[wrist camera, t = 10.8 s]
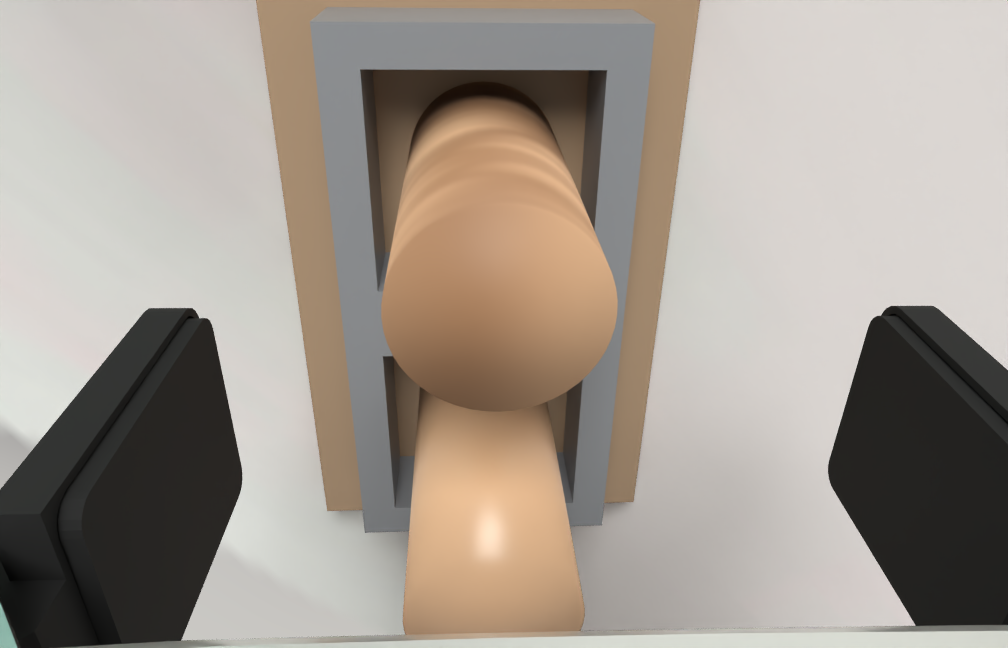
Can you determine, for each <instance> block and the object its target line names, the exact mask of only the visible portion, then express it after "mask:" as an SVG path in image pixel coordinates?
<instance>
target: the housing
mask: <svg viewBox="0 0 1008 648" xmlns="http://www.w3.org/2000/svg"><path fill="white" fill-rule="evenodd" d="M256 3H257V10H258V17H259V25H260V32H261V39H262V46H263V53H264V60H265V68H266V75H267V82H268V89H269V96H270V103H271V111H272V118H273V125H274V132H275V139H276V146H277V154H278V161H279V168H280V175H281V182H282V189H283V197H284V204H285V211H286V218H287V225H288V232H289V240H290V247H291V254H292V261H293V268H294V275H295V283H296V290H297V297H298V304H299V311H300V318H301V326H302V333H303V340H304V347H305V354H306V361H307V369H308V376H309V383H310V390H311V397H312V404H313V412H314V419H315V426H316V433H317V440H318V447H319V455H320V462H321V469H322V476H323V483H324V490H325V498H326V505H327V511H342V510H363V518H364V528H365V533H368V532H400V531H409V541H408V554H407V568H406V581H405V594H404V608H403V626H404V631H405V634H406V635H418V634H460V633H503V632H555V631H580V630H581V627H582V625H583V621H584V616H585V608H584V602H583V596H582V591H581V585H580V580H579V574H578V569H577V563H576V558H575V552H574V547H573V541H572V536H571V530H570V526H594V525H602V518H603V509H604V503H615V502H633V501H634V493H635V486H636V478H637V471H638V463H639V456H640V448H641V441H642V433H643V426H644V418H645V411H646V403H647V396H648V388H649V380H650V373H651V365H652V358H653V350H654V343H655V335H656V328H657V320H658V313H659V305H660V298H661V290H662V283H663V275H664V268H665V260H666V253H667V245H668V237H669V230H670V222H671V215H672V207H673V200H674V192H675V185H676V177H677V170H678V162H679V155H680V147H681V140H682V132H683V125H684V117H685V110H686V102H687V94H688V87H689V79H690V72H691V64H692V57H693V49H694V42H695V34H696V27H697V19H698V12H699V4H700V0H256ZM481 81H486V82H496V83H500V84H504V85H507V86H510V87H513V88H515V89H517V90H519V91H521V92H522V93H524V94H525V95H527V96H528V97H529V98H531V99H532V100H533V101H534V102H535V103H536V104H537V105H538V106H539V108H540V109H541V110H542V111H543V113H544V114H545V116H546V118H547V119H548V121H549V123H550V126H551V128H552V130H553V133H554V135H555V137H556V140H557V142H558V145H559V147H560V149H561V152H562V154H563V157H564V159H565V161H566V164H567V166H568V169H569V171H570V173H571V176H572V178H573V181H574V183H575V185H576V188H577V190H578V193H579V195H580V197H581V200H582V202H583V205H584V207H585V209H586V212H587V214H588V217H589V219H590V221H591V224H592V226H593V229H594V231H595V233H596V236H597V238H598V241H599V243H600V245H601V248H602V250H603V253H604V255H605V258H606V260H607V262H608V265H609V267H610V270H611V272H612V275H613V278H614V282H615V285H616V291H617V299H618V307H617V319H616V324H615V329H614V332H613V335H612V338H611V341H610V343H609V345H608V347H607V349H606V351H605V353H604V354H603V356H602V357H601V359H600V360H599V362H598V363H597V365H596V366H595V367H594V368H593V369H592V371H591V372H590V373H589V374H588V375H587V376H586V377H585V378H584V379H582V380H581V381H580V382H579V383H578V384H577V385H575V386H574V387H572V388H571V389H570V390H568V391H567V392H565V393H563V394H561V395H560V396H558V397H556V398H554V399H552V400H549V401H547V402H545V403H542V404H539V405H536V406H533V407H529V408H525V409H519V410H514V411H501V412H493V411H480V410H472V409H468V408H464V407H460V406H456V405H454V404H451V403H448V402H446V401H443V400H441V399H439V398H437V397H435V396H433V395H431V394H430V393H428V392H427V391H426V390H424V389H423V388H421V387H420V386H419V385H417V384H416V383H415V382H414V381H413V380H412V379H411V378H409V376H408V375H407V374H406V373H405V372H404V371H403V370H402V368H401V367H400V366H399V364H398V363H397V361H396V360H395V358H394V357H393V355H392V353H391V351H390V348H389V346H388V344H387V341H386V338H385V335H384V332H383V325H382V319H381V303H382V296H383V290H384V284H385V279H386V273H387V268H388V263H389V257H390V252H391V247H392V241H393V236H394V231H395V225H396V220H397V214H398V209H399V204H400V198H401V193H402V188H403V182H404V177H405V172H406V166H407V161H408V155H409V150H410V145H411V139H412V135H413V132H414V129H415V126H416V124H417V122H418V120H419V118H420V117H421V115H422V113H423V112H424V111H425V109H426V108H427V107H428V106H429V105H430V104H431V103H432V102H433V101H434V100H435V99H436V98H437V97H439V96H440V95H441V94H443V93H444V92H446V91H448V90H450V89H452V88H454V87H456V86H459V85H462V84H466V83H471V82H481Z"/></svg>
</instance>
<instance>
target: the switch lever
mask: <svg viewBox="0 0 1008 648" xmlns="http://www.w3.org/2000/svg"><path fill="white" fill-rule="evenodd" d="M617 307H618V299H617V291H616V285H615V282H614V278H613V275H612V272H611V270H610V267H609V265H608V262H607V260H606V258H605V255H604V253H603V250H602V248H601V245H600V243H599V241H598V238H597V236H596V233H595V231H594V229H593V226H592V224H591V221H590V219H589V217H588V214H587V212H586V209H585V207H584V205H583V202H582V200H581V197H580V195H579V193H578V190H577V188H576V185H575V183H574V181H573V178H572V176H571V173H570V171H569V169H568V166H567V164H566V161H565V159H564V157H563V154H562V152H561V149H560V147H559V145H558V142H557V140H556V137H555V135H554V133H553V130H552V128H551V126H550V123H549V121H548V119H547V118H546V116H545V114H544V113H543V111H542V110H541V109H540V108H539V106H538V105H537V104H536V103H535V102H534V101H533V100H532V99H531V98H529V97H528V96H527V95H525V94H524V93H522V92H521V91H519V90H517V89H515V88H513V87H510V86H507V85H504V84H500V83H496V82H486V81H481V82H471V83H466V84H462V85H459V86H456V87H454V88H452V89H450V90H448V91H446V92H444V93H443V94H441V95H440V96H439V97H437V98H436V99H435V100H434V101H433V102H432V103H431V104H430V105H429V106H428V107H427V108H426V109H425V111H424V112H423V113H422V115H421V117H420V118H419V120H418V122H417V124H416V126H415V129H414V132H413V135H412V139H411V145H410V150H409V155H408V161H407V166H406V172H405V177H404V182H403V188H402V193H401V198H400V204H399V209H398V214H397V220H396V225H395V231H394V236H393V241H392V247H391V252H390V257H389V263H388V268H387V273H386V279H385V284H384V290H383V296H382V303H381V319H382V325H383V332H384V335H385V338H386V341H387V344H388V346H389V348H390V351H391V353H392V355H393V357H394V358H395V360H396V361H397V363H398V364H399V366H400V367H401V368H402V370H403V371H404V372H405V373H406V374H407V375H408V376H409V378H411V379H412V380H413V381H414V382H415V383H416V384H417V385H419V386H420V387H421V388H423V389H424V390H426V391H427V392H428V393H430V394H431V395H433V396H435V397H437V398H439V399H441V400H443V401H446V402H448V403H451V404H454V405H456V406H460V407H464V408H468V409H472V410H480V411H493V412H501V411H514V410H519V409H525V408H529V407H533V406H536V405H539V404H542V403H545V402H547V401H549V400H552V399H554V398H556V397H558V396H560V395H561V394H563V393H565V392H567V391H568V390H570V389H571V388H572V387H574V386H575V385H577V384H578V383H579V382H580V381H581V380H582V379H584V378H585V377H586V376H587V375H588V374H589V373H590V372H591V371H592V369H593V368H594V367H595V366H596V365H597V363H598V362H599V360H600V359H601V357H602V356H603V354H604V353H605V351H606V349H607V347H608V345H609V343H610V341H611V338H612V335H613V332H614V329H615V324H616V319H617Z"/></svg>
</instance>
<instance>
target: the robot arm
mask: <svg viewBox="0 0 1008 648" xmlns="http://www.w3.org/2000/svg"><path fill="white" fill-rule="evenodd" d="M828 474H829V480H830V483H831V486H832V488H833V490H834V491H835V493H836V495H837V496H838V498H839V500H840V501H841V503H842V505H843V506H844V508H845V509H846V511H847V513H848V514H849V516H850V518H851V519H852V521H853V523H854V524H855V526H856V528H857V529H858V531H859V533H860V534H861V536H862V537H863V539H864V541H865V542H866V544H867V546H868V547H869V549H870V551H871V552H872V554H873V556H874V557H875V559H876V561H877V562H878V564H879V565H880V567H881V569H882V570H883V572H884V574H885V575H886V577H887V579H888V580H889V582H890V584H891V585H892V587H893V589H894V590H895V592H896V593H897V595H898V597H899V598H900V600H901V602H902V603H903V605H904V607H905V608H906V610H907V612H908V613H909V615H910V617H911V618H912V620H913V621H914V623H915V625H916V626H866V627H786V628H721V629H663V630H607V631H555V632H503V633H460V634H418V635H375V636H339V637H337V636H333V637H292V638H257V639H256V638H254V639H221V640H187V641H181V639H182V637H183V634H184V632H185V629H186V627H187V624H188V622H189V619H190V617H191V614H192V612H193V609H194V607H195V604H196V602H197V599H198V597H199V594H200V592H201V589H202V587H203V584H204V582H205V579H206V577H207V574H208V572H209V569H210V567H211V564H212V562H213V560H214V557H215V555H216V552H217V550H218V547H219V545H220V542H221V540H222V537H223V535H224V532H225V530H226V527H227V525H228V522H229V520H230V517H231V515H232V512H233V510H234V507H235V505H236V502H237V500H238V497H239V494H240V491H241V486H242V467H241V462H240V457H239V453H238V448H237V443H236V438H235V433H234V428H233V423H232V419H231V414H230V409H229V404H228V399H227V394H226V390H225V385H224V380H223V375H222V370H221V365H220V361H219V356H218V351H217V346H216V341H215V336H214V332H213V328H212V324H211V322H210V321H209V320H208V319H207V318H199V317H198V315H197V313H196V311H195V310H193V309H192V308H151V309H148V310H146V311H145V312H144V313H143V314H142V316H141V317H140V318H139V319H138V321H137V322H136V323H135V324H134V326H133V327H132V328H131V329H130V331H129V332H128V333H127V334H126V335H125V337H124V338H123V339H122V340H121V342H120V343H119V344H118V345H117V347H116V348H115V349H114V350H113V351H112V353H111V354H110V355H109V356H108V358H107V359H106V360H105V361H104V363H103V364H102V365H101V366H100V367H99V369H98V370H97V371H96V372H95V374H94V375H93V376H92V377H91V379H90V380H89V381H88V382H87V383H86V385H85V386H84V387H83V388H82V390H81V391H80V392H79V393H78V395H77V396H76V397H75V398H74V400H73V401H72V402H71V403H70V404H69V406H68V407H67V408H66V409H65V411H64V412H63V413H62V414H61V416H60V417H59V418H58V419H57V420H56V422H55V423H54V424H53V425H52V427H51V428H50V429H49V430H48V432H47V433H46V434H45V435H44V436H43V438H42V439H41V440H40V441H39V443H38V444H37V445H36V446H35V448H34V449H33V450H32V451H31V452H30V454H29V455H28V456H27V458H26V459H25V460H24V461H23V462H22V464H21V465H20V466H19V467H18V469H17V470H16V471H15V472H14V473H13V475H12V476H11V477H10V478H9V480H8V481H7V482H6V483H5V485H4V486H3V487H2V488H1V490H0V648H1008V370H1007V369H1006V368H1005V367H1003V366H1002V365H1001V364H1000V363H999V362H998V361H997V360H995V359H994V358H993V357H992V356H991V355H990V354H989V353H988V352H986V351H985V350H984V349H983V348H982V347H981V346H980V345H978V344H977V343H976V342H975V341H974V340H973V339H972V338H971V337H969V336H968V335H967V334H966V333H965V332H964V331H963V330H961V329H960V328H959V327H958V326H957V325H956V324H955V323H954V322H952V321H951V320H950V319H949V318H948V317H947V316H946V315H944V314H943V313H942V312H941V311H940V310H939V309H937V308H935V307H934V306H890V307H888V308H887V309H886V310H885V311H884V312H883V313H882V315H881V316H876V317H875V318H873V320H872V321H871V322H870V325H869V327H868V330H867V334H866V337H865V341H864V344H863V348H862V351H861V354H860V358H859V361H858V365H857V368H856V371H855V375H854V378H853V382H852V385H851V388H850V392H849V395H848V399H847V402H846V405H845V409H844V412H843V416H842V419H841V422H840V426H839V429H838V433H837V436H836V439H835V443H834V446H833V450H832V453H831V457H830V460H829V465H828Z"/></svg>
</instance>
